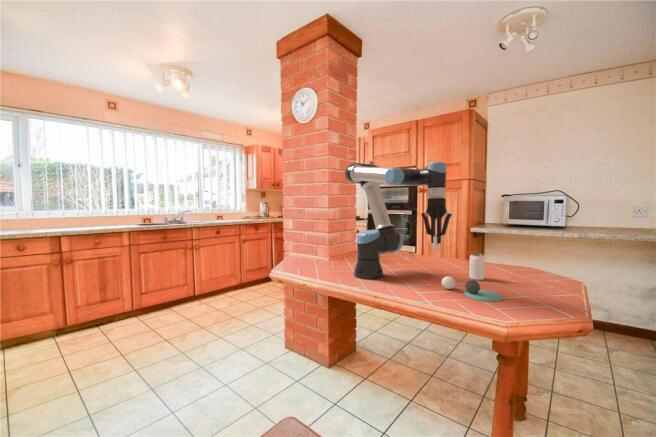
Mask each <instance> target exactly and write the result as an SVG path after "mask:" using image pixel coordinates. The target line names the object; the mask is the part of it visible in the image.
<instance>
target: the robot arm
mask: <svg viewBox="0 0 656 437" xmlns="http://www.w3.org/2000/svg"><path fill="white" fill-rule="evenodd" d="M344 177H345V178H346V181H348V182H350V183H351V184H360V187H361V190H363V191H364V192H365V196H366V199H367V201H368V205H369V208H370V212H371V215H372V220H373V222H374V225H375V229H368V230H367V229H366V230H362V231H360V232H358V233H357V237H356V243H357V244H356V245H357V246H356V247H357V248H356V251H357V253H356V255H357V256H356V258H357V259H356V264H355V267H354V270H353V276H354V277H356V278H359V279H365V280H370V279H371V280H375V279H380V278H382V277H384V270H383V267H382V264H381V260H380V258H381V257H380V256H381V255H383V254H389V253H390V254H392V253H396V252H398V251H400V250H401V248H402V247H403V244H404V236H403V234H402V232H400V231H399V230H397V229H396V227H395V225H394V224H392V223H391V219H390V216H389V213H388V210H387V206H386V203H385V200H384V197H383V193H382V190H381V187H380V185H381V184H387V185H389V186H390V185H391V186H409V187H419V186H427V197H428V198H427V208H426V210H425V212H423V213H420V215H421V217H422V219H423V222H424V226H425V232H426V234H427V235H428V236H430V238H431V240H430V243H431V244H433V246H432V249H433V250H432V251H433V252H438V251H440V250H439V247H440V245H439V244H441V243H442V236H445V235H446V233H447V231H448V225H449V222H450V219H451V218H452V216H453V213H450V212H449V211H448V210H447V204H446V203H447V202H446V201H447V200H446V198H445V197H447V186H446V185H447V182H446V181H447V164H446V162H444V161H433V162H432V161H431V162H429V163H428V164H427V168H421V169H420V168H419V169H418V168H417V169H416V168H403V167H402V168H401V167H400V168H399V167H384V166H383V167H382V166H379V165H377V164H374V163H360V162H353V163H349V165H347V166H346V168H345V170H344ZM444 216H445V217H444ZM429 217H430V220H429ZM443 217H444V218H445V219H444V222H443V224H442V221H443ZM442 225H443V226H442Z"/></svg>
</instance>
